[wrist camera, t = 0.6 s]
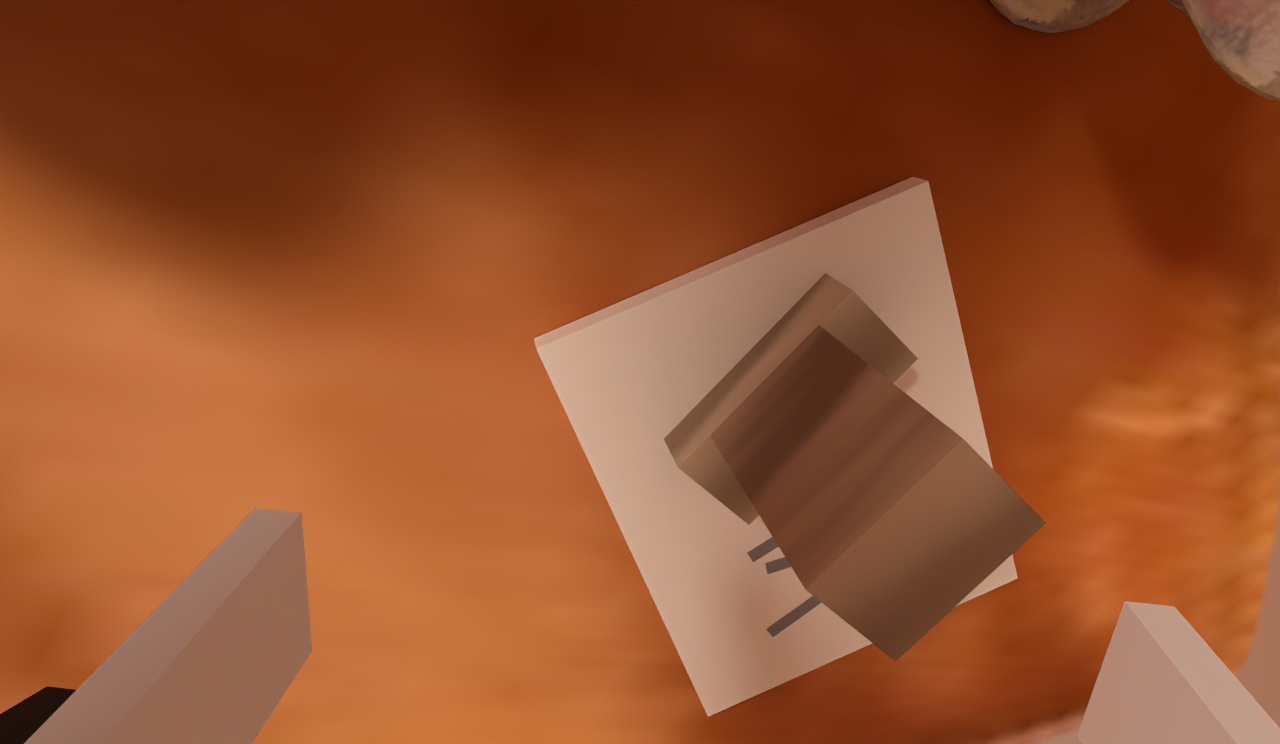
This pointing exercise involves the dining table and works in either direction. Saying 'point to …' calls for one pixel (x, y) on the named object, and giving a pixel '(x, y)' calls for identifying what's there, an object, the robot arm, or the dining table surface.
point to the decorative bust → (1219, 9)
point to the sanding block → (852, 471)
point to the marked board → (691, 367)
